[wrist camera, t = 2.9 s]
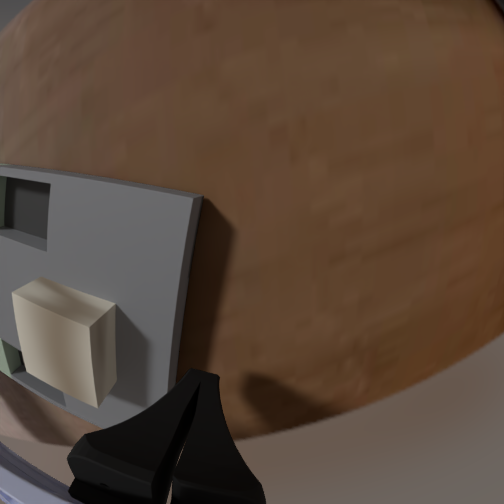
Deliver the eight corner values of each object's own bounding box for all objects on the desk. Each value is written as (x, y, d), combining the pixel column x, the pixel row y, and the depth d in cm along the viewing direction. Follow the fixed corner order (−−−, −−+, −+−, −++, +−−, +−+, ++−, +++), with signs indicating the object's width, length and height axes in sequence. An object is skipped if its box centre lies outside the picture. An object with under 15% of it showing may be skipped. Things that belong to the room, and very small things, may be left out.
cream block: (49, 350, 14) (26, 371, 11) (41, 276, 13) (11, 292, 10) (116, 380, 14) (97, 408, 11) (115, 303, 13) (89, 327, 10)
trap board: (-17, 338, 17) (-40, 354, 14) (-30, 160, 13) (-61, 163, 10) (171, 430, 17) (158, 466, 14) (204, 195, 13) (182, 200, 10)
